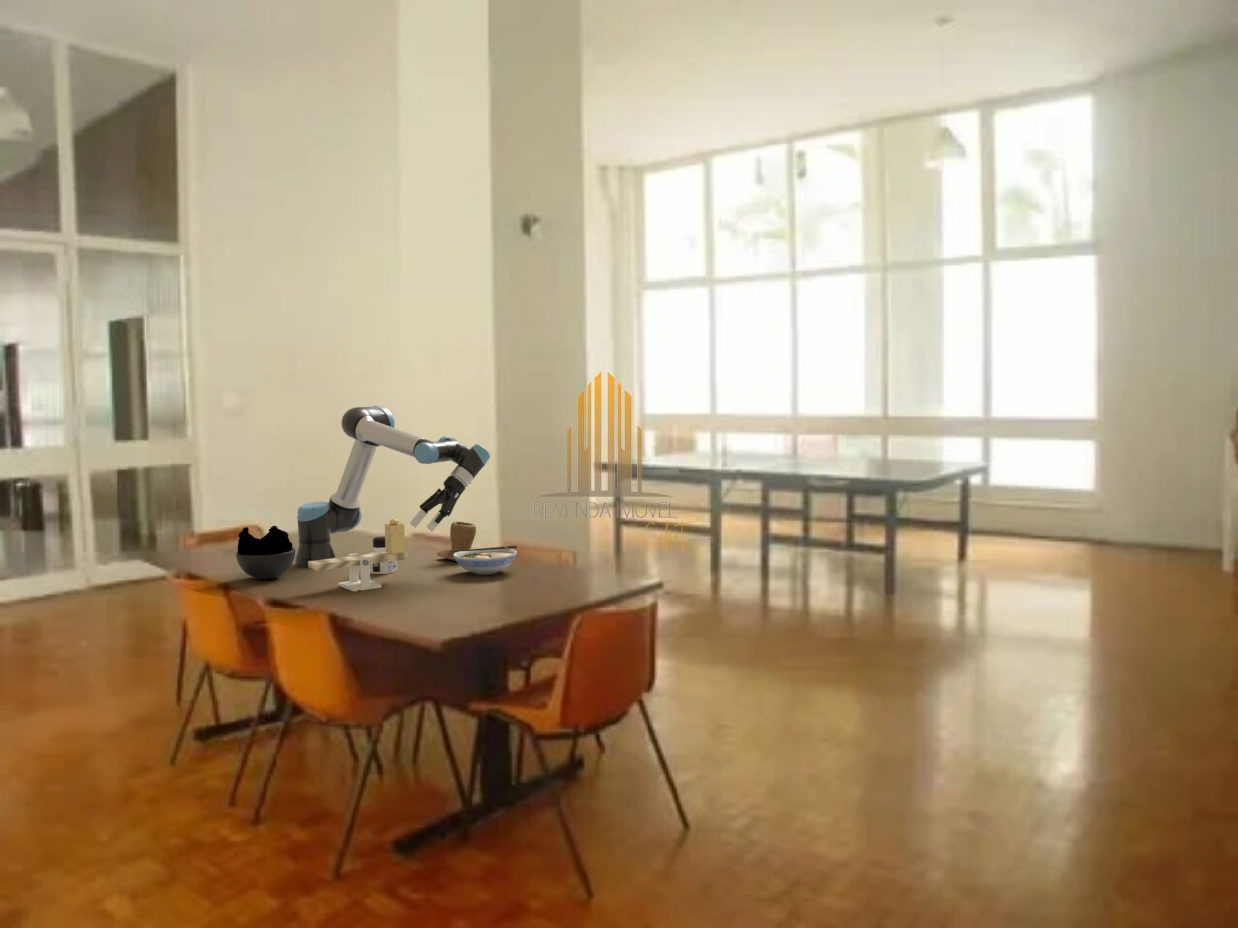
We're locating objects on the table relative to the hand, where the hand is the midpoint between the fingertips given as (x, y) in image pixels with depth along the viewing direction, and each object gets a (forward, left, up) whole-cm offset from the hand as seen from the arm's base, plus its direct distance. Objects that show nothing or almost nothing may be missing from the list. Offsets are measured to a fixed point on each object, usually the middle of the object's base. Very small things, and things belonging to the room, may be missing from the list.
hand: (420, 527), depth 350 cm
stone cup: (-24, +27, -18) cm, 40 cm away
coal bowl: (-36, -43, -18) cm, 59 cm away
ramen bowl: (+8, +21, -18) cm, 29 cm away
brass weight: (0, -10, -8) cm, 13 cm away
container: (-20, -6, -18) cm, 28 cm away
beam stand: (0, -23, -18) cm, 29 cm away
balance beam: (0, -23, -9) cm, 25 cm away
